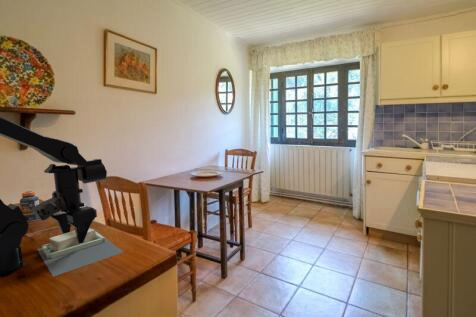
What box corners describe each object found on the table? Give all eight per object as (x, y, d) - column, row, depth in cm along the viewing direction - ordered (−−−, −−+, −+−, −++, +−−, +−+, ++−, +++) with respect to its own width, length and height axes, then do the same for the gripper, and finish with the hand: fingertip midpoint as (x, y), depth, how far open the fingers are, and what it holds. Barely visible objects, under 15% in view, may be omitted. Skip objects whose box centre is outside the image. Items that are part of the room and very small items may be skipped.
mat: (124, 253, 72) (124, 252, 72) (53, 278, 61) (53, 276, 61) (97, 233, 88) (97, 232, 88) (37, 250, 77) (36, 249, 77)
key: (26, 240, 87) (78, 227, 97) (25, 238, 87) (78, 225, 97) (24, 234, 91) (75, 222, 101) (24, 232, 91) (75, 220, 101)
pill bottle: (18, 222, 104) (14, 194, 102) (28, 217, 110) (25, 190, 108) (35, 221, 104) (31, 193, 103) (44, 216, 110) (40, 189, 109)
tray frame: (105, 241, 80) (105, 238, 80) (48, 259, 70) (47, 255, 70) (95, 234, 86) (95, 230, 86) (41, 249, 76) (41, 245, 76)
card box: (59, 254, 72) (57, 242, 72) (50, 250, 76) (49, 238, 75) (96, 241, 80) (95, 229, 80) (87, 237, 84) (86, 226, 83)
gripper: (21, 189, 75) (28, 243, 77) (48, 196, 64) (55, 259, 66) (64, 182, 84) (70, 230, 86) (95, 187, 73) (100, 242, 75)
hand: (73, 239), depth 78 cm, fingers open, 9 cm apart
